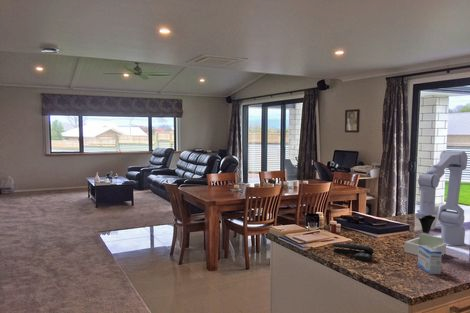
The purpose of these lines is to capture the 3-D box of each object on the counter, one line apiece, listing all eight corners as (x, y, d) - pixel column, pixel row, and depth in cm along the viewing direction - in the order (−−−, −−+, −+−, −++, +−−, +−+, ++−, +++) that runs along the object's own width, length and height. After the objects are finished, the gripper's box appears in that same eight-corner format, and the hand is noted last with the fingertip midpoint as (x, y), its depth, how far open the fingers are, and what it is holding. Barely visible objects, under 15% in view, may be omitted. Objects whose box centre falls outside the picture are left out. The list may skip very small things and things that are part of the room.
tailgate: (421, 243, 165) (421, 233, 165) (442, 249, 158) (443, 238, 157) (419, 244, 164) (419, 233, 164) (441, 249, 157) (441, 238, 156)
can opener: (376, 259, 150) (376, 245, 150) (369, 263, 145) (369, 249, 145) (336, 249, 162) (336, 237, 162) (328, 253, 157) (329, 240, 157)
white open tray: (417, 246, 166) (418, 237, 166) (445, 254, 157) (446, 243, 156) (404, 251, 159) (404, 241, 159) (432, 259, 150) (433, 249, 149)
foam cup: (438, 227, 201) (439, 204, 200) (437, 231, 194) (438, 207, 193) (419, 225, 206) (420, 202, 206) (417, 228, 199) (418, 205, 198)
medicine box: (417, 266, 142) (418, 244, 141) (428, 266, 142) (429, 244, 141) (429, 274, 134) (430, 251, 133) (441, 274, 134) (442, 251, 134)
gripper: (426, 198, 164) (424, 228, 165) (409, 201, 155) (408, 233, 156) (442, 201, 158) (440, 231, 159) (426, 204, 150) (424, 236, 151)
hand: (425, 232), depth 157 cm, fingers closed
